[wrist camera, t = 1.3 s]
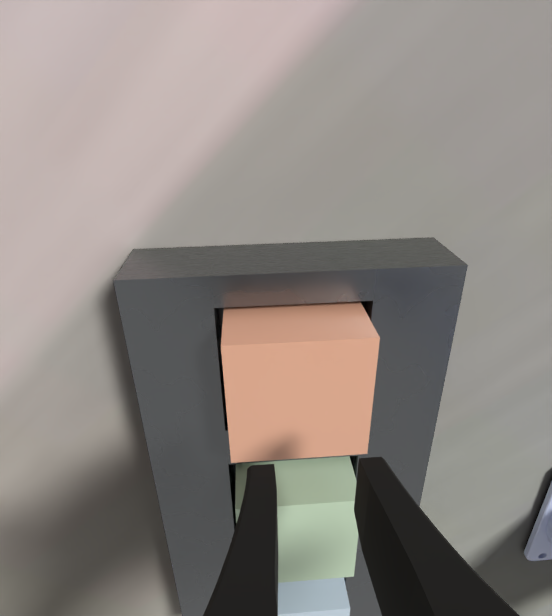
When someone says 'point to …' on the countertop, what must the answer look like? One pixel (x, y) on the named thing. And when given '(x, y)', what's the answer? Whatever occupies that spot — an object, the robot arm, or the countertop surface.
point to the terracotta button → (298, 380)
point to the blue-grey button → (313, 598)
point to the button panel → (210, 382)
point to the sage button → (312, 517)
